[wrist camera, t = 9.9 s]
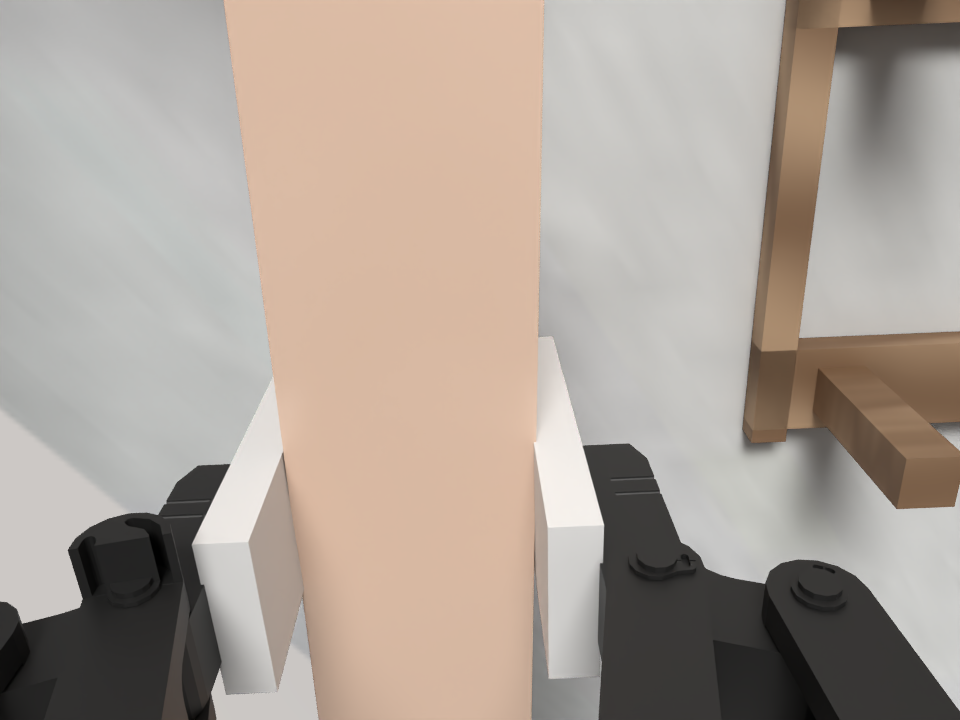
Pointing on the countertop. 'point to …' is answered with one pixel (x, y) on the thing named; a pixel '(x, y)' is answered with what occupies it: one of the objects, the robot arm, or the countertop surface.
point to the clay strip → (403, 335)
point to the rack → (781, 285)
